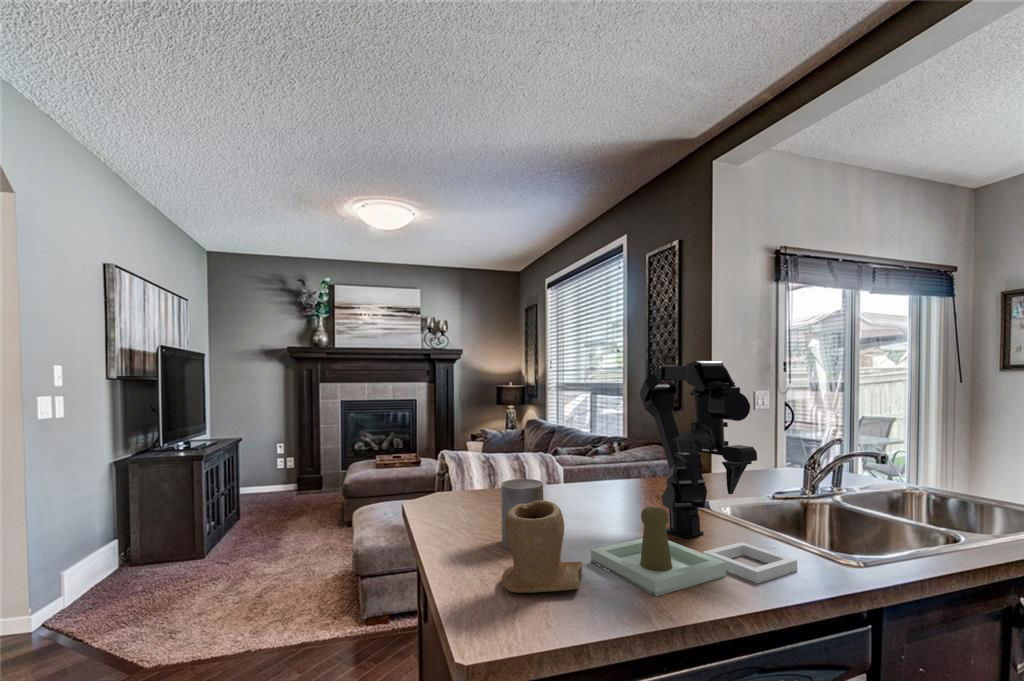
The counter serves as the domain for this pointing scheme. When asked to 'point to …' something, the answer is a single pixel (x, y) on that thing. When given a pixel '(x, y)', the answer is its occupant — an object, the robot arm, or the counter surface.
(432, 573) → the counter surface
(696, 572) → the tray
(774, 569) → the collar block
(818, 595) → the counter surface
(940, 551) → the counter surface
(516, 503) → the pillar candle
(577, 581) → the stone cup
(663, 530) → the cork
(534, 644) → the counter surface
